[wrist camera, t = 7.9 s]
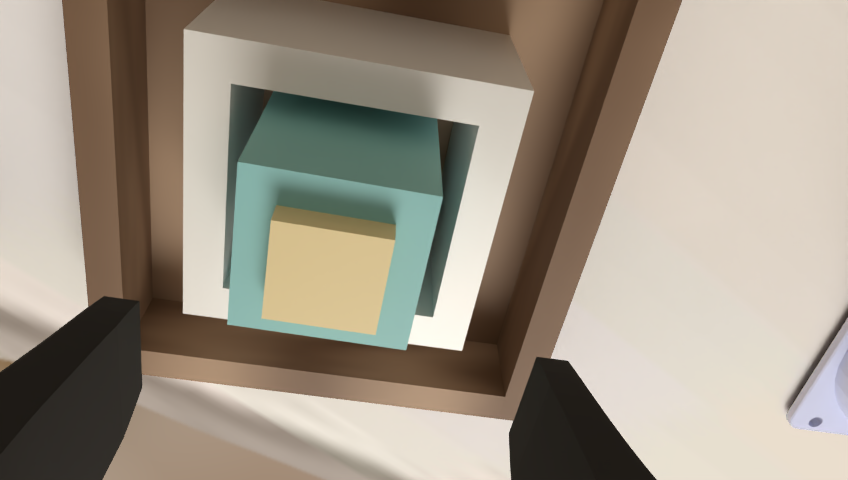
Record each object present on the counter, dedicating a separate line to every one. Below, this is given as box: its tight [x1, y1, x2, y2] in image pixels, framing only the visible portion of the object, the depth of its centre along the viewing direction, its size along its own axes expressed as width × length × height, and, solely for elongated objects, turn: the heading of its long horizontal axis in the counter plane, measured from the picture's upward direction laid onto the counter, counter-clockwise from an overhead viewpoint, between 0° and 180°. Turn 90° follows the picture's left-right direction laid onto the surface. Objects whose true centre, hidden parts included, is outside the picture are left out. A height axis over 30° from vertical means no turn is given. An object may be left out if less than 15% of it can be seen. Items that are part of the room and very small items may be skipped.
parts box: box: [62, 0, 682, 421], centre depth 19 cm, size 14×16×3 cm
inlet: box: [183, 0, 534, 351], centre depth 18 cm, size 8×8×4 cm
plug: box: [227, 91, 443, 350], centre depth 17 cm, size 4×4×8 cm
